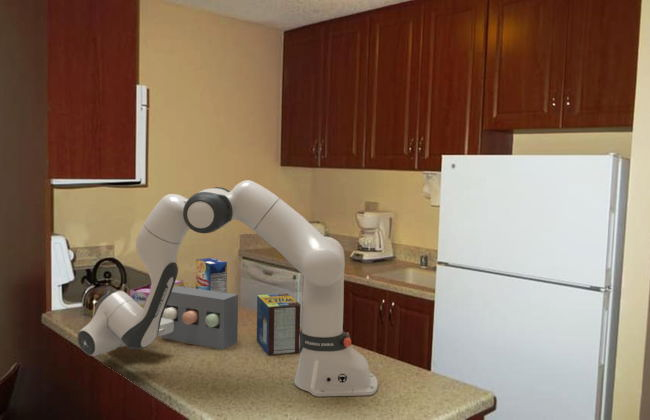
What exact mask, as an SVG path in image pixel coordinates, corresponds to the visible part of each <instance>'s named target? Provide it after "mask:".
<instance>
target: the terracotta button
mask: <svg viewBox="0 0 650 420" xmlns="http://www.w3.org/2000/svg"><path fill="white" fill-rule="evenodd" d="M182 320H183V322H184V323H185V324H187V325H189V324H192V323H194V322H197V321H198V320H199V312H198V310H196V309H193V310H191V311H188V312H185V313H184V314H183V315H182Z"/></svg>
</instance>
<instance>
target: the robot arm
mask: <svg viewBox="0 0 650 420" xmlns="http://www.w3.org/2000/svg"><path fill="white" fill-rule="evenodd" d="M232 220H236V221H240V222H241V223H243V224H244V225H246V227H248V228H250V229H251V230H252V231H253V232H254V233H256V234H257V235H258V236H259V237H261V238H262V239H263V240H265V241H266V242H267V243H268V244H270V246H272V247H273V248H274V249H276V250H277V251H278V252H279V253H280V254H281V255H282V256H283V257H284V258H285V259H286V260H287V261H288V262H289V263H290V264H291V265H292V266H293V267H294V268H295V269H296V270H297V271H298V272H299V273H301V274H302V275H303V285H302V286H303V287H302V298H301V299H302V301H301V328H300V335H299V351H300V352H299V360H298V365H297V370H296V373H295V377H294V381H293V383H294V385H295V386H296V387H297V388H299V389H301V390H303V391H306V392H308V393H310V394H311V395H312V396H314V397H347V396H348V397H351V396H355V397H356V396H358V397H359V396H372V395H374V394H375V393H376V392H377V391H378V386H379V382H378V378H377V376H376V375H375V374H373V373H371V371H370V366H369V363H368V360H367V359H366V356H364V355H362V354H361V353H359V352H358V350H356V349H355V348H353V347H352V346H351V345H352V339H351V336H350V333H349V332H348V331H347V332H345V331H344V329H343V325H344V294H345V293H344V291H345V290H344V288H345V287H344V286H345V284H344V283H345V267H346V264H345V262H346V260H345V259H346V258H345V257H346V256H345V251H344V248H343V246H342V244H341V243H340V242H339V241H338V240H336V239H335V238H334V237H330V236H324V235H323V234H322V233H321V232H320V231H319V230H317V228H315V227H314V226H313V225H312V224H311V223H310V222H309V221H308V220H307V219H306V218H305V217H304V216H302V214H300V213H299V212H298V211H296V210H295V209H294V208H293V207H292V206H290V205H289V204H288V203H286V202H285V201H284V200H282V198H280V197H279V196H277V195H276V194H275V193H274V192H272V191H270V190H269V189H267V188H266V187H265V186H263V185H261V184H259V183H258V182H255V181H252V180H249V179H245V180H243V181H240V182H238V183H237V184H236V185H234V187H233V188H232V189H231V190H228V189H227V188H226V187H225V188H224V187H220V186H219V187H217V186H216V187H211V188H205V189H203V190H200V191H198V192H197V193H194V194H192V195H191V196H190V197H189V198H187V197H185V196H183V195H180V194H176V193H169V194H165V195H164V196H163V197H162V198H161V199H160V200H159V201H158V202H157V204H156V205H154V208H153V209H152V210H151V212H150V213H149V214H148V216H147V217H146V219H145V221H144V223H143V224H142V226H141V228H140V229H139V232H138V234H137V236H136V241H135V245H136V246H135V247H136V250H137V254H138V256H139V258H140V260H141V262H142V263H143V264H144V266H145V268H146V270H147V273H148V275H149V278H150V281H151V283H152V286H151V291H150V293H149V296H148V299H147V301H146V304H145V307H144V309H143V308H142V307H141V306H140V305H139V304H137V303H136V302H135V301H134V300H133V299H132V298H131V297H130V294H128V293H126V292H125V291H124V290H119V289H118V290H113V291H110V292H108V293H106V294H104V295H103V296H101V297H100V298H99V299H98V300H97V302H96V305H95V308H94V312H93V317H92V319H90V321H89V322H88V323H87V324H86V325H85V326H84V327H83V328H81V329H79V331H78V333H77V343H78V347H79V348H80V349H81V351H83V352H84V353H85V354H86V355H87V356H92V357H93V356H100V355H103V354H106V353H110V352H113V351H115V350H117V348H119V347H127V348H128V349H130V350H141V349H145V348H148V347H149V346H150V345H151V344H152V343H153V342H154V341H155V340H156V338H157V337H162V335H165V334H168V333H171V332H173V330H174V321H173V320H171V319H165V318H163V316H162V315H163V313H164V310H165V308H166V305H167V302H168V300H169V297H170V294H171V292H172V289H173V286H174V284H175V281H176V280H177V277H178V273H179V267H178V265H177V261H178V260H177V259H178V253H179V249H180V246H181V244H182V243H183V240H184V238H185V237H186V235H187V233H188V232H189V231H190V229H191V231H193V232H196V233H199V234H210V233H211V234H212V233H213V232H216V231H218V230H220V229H222V228H224V227H225V226H226V225H228V224H229V223H230V222H231V221H232ZM151 283H150V284H151Z"/></svg>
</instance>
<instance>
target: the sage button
mask: <svg viewBox="0 0 650 420" xmlns="http://www.w3.org/2000/svg"><path fill="white" fill-rule="evenodd" d="M205 322H206V324H207V326H208V327H214V326H217V325H219V324H220V313H212V314H210V315H207V316H206V319H205Z"/></svg>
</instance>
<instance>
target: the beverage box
mask: <svg viewBox="0 0 650 420" xmlns="http://www.w3.org/2000/svg"><path fill="white" fill-rule="evenodd" d="M195 266H196V267H195V289H203V290H210V291H217V292H224V293H228V292H227V290H228V286H227V285H228V262H227V261H224V260H221V259H217V258H214V257H209V258H199V259H196V260H195Z"/></svg>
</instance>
